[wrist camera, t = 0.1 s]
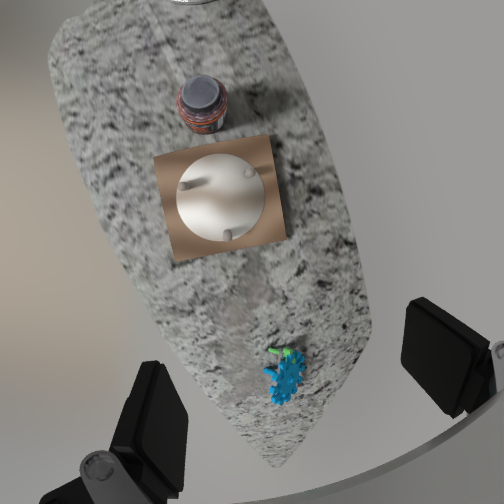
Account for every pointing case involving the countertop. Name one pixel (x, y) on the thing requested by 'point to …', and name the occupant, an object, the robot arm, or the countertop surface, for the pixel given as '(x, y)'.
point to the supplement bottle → (203, 104)
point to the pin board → (220, 197)
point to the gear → (285, 374)
